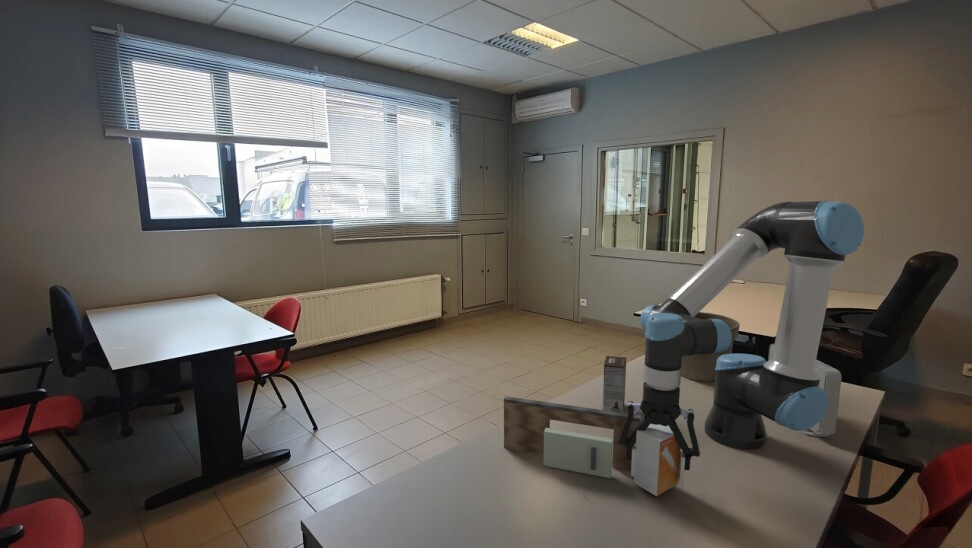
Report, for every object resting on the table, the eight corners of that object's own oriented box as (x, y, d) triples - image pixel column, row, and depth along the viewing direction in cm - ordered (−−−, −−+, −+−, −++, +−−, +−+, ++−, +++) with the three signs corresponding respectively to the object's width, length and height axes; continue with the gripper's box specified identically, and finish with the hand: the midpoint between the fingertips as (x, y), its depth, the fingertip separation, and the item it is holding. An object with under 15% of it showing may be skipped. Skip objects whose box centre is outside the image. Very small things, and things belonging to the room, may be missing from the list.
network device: (757, 401, 146) (762, 342, 143) (784, 401, 146) (790, 342, 143) (811, 442, 121) (818, 372, 118) (844, 442, 121) (852, 372, 117)
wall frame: (638, 468, 110) (640, 415, 108) (637, 472, 108) (640, 418, 106) (505, 444, 121) (505, 396, 119) (503, 447, 119) (503, 399, 117)
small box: (657, 497, 97) (660, 442, 95) (633, 482, 102) (635, 429, 100) (679, 484, 102) (682, 431, 100) (655, 471, 107) (658, 420, 105)
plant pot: (731, 393, 152) (736, 332, 149) (656, 378, 166) (659, 322, 162) (737, 370, 173) (742, 316, 170) (670, 359, 186) (673, 308, 183)
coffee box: (604, 401, 147) (605, 354, 144) (624, 404, 145) (626, 356, 142) (602, 414, 138) (603, 364, 136) (623, 417, 136) (625, 366, 134)
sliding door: (611, 473, 107) (612, 438, 105) (610, 481, 104) (611, 445, 102) (545, 461, 112) (545, 427, 111) (542, 468, 109) (542, 433, 108)
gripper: (715, 383, 98) (708, 477, 101) (610, 371, 106) (607, 459, 109) (720, 397, 91) (712, 497, 95) (608, 383, 99) (604, 476, 102)
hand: (656, 477), depth 102 cm, fingers closed on small box, 10 cm apart
